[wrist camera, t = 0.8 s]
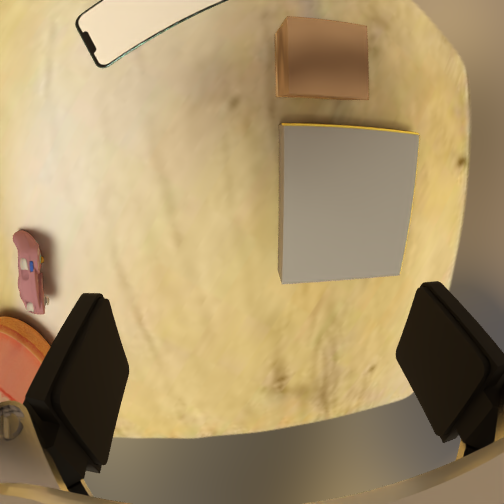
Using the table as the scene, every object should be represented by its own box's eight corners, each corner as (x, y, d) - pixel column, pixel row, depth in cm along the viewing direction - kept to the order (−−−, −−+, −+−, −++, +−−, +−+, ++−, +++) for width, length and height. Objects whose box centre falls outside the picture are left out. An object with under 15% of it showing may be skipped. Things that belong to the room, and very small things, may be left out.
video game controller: (50, 291, 37) (50, 324, 32) (21, 292, 34) (17, 326, 29) (46, 226, 33) (42, 253, 28) (13, 226, 30) (4, 254, 25)
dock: (278, 122, 29) (284, 123, 26) (406, 130, 29) (420, 133, 27) (277, 270, 36) (281, 284, 33) (390, 263, 37) (400, 275, 34)
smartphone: (209, -54, 20) (74, 21, 22) (209, -56, 19) (72, 20, 21) (243, -4, 23) (101, 72, 25) (244, -6, 23) (99, 72, 25)
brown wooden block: (274, 35, 25) (287, 16, 19) (339, 40, 25) (366, 26, 19) (275, 96, 28) (289, 93, 21) (340, 99, 28) (368, 99, 22)
